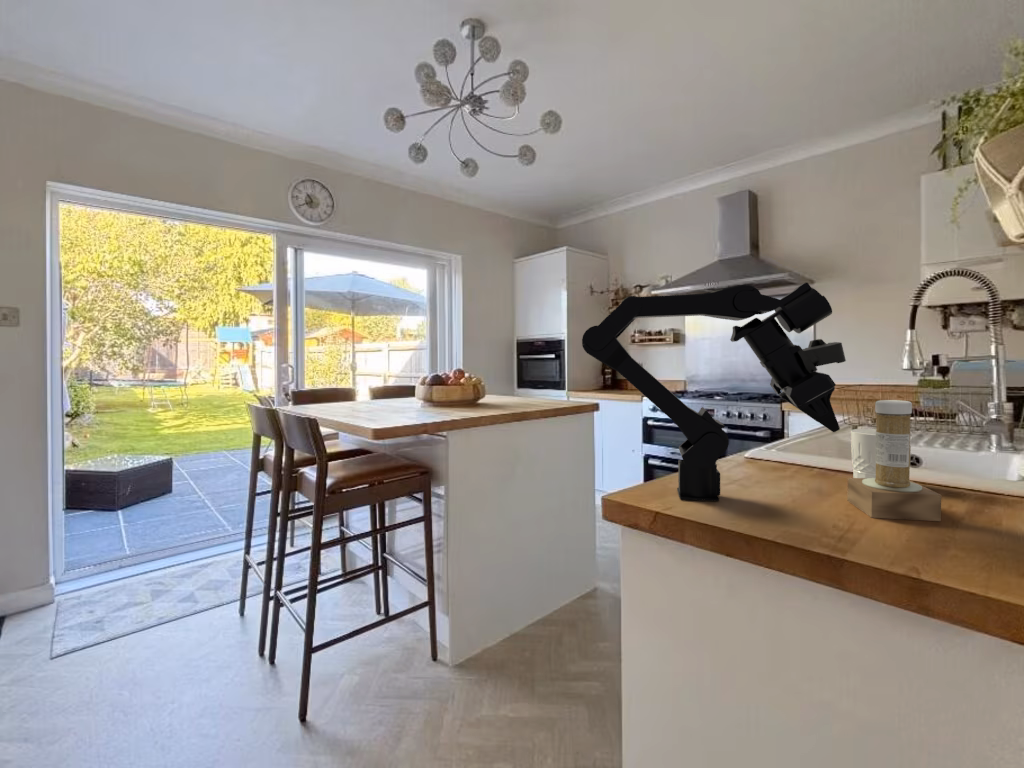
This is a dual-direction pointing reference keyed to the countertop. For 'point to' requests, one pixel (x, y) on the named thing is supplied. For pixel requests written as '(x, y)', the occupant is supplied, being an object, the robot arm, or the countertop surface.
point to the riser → (894, 500)
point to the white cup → (863, 453)
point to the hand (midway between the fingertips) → (828, 425)
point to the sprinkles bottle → (893, 443)
